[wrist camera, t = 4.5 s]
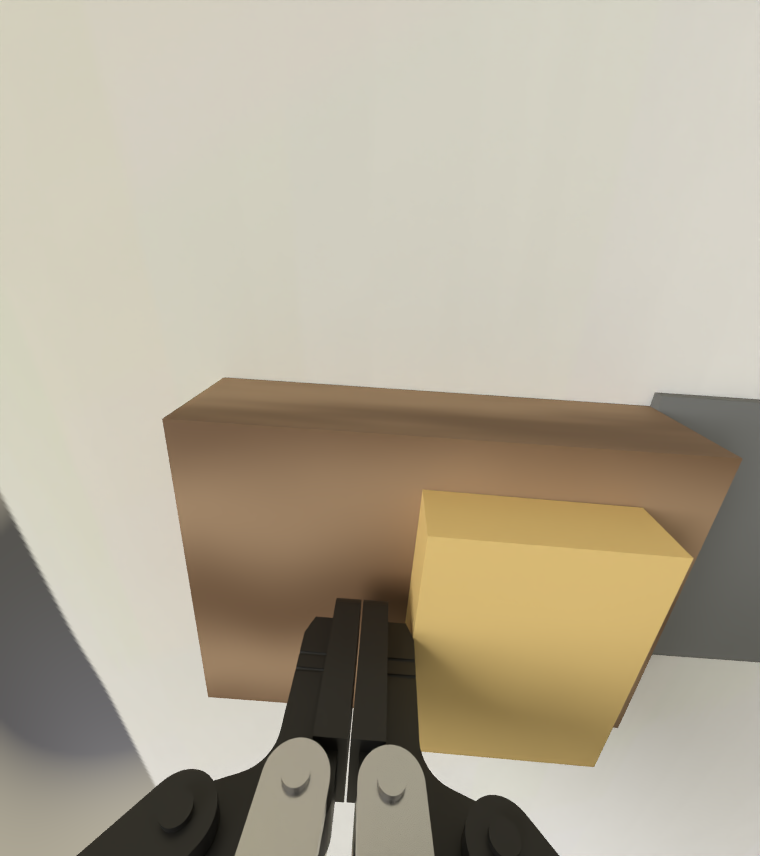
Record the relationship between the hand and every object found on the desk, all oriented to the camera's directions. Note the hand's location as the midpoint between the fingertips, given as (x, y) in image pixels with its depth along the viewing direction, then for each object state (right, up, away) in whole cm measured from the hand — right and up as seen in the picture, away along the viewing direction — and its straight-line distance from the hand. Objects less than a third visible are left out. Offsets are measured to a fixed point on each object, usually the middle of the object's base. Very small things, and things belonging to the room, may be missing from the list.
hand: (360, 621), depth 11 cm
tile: (+4, 0, +1) cm, 5 cm away
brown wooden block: (+2, +2, +5) cm, 5 cm away
